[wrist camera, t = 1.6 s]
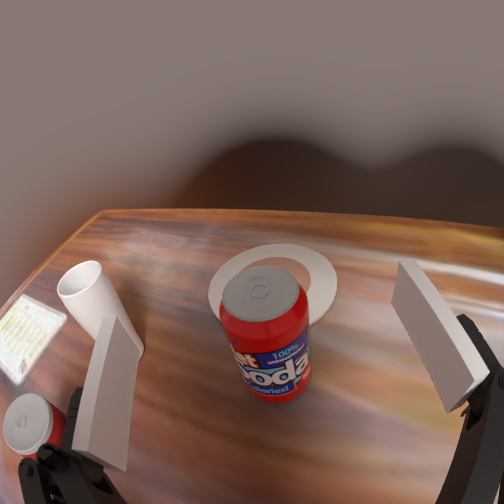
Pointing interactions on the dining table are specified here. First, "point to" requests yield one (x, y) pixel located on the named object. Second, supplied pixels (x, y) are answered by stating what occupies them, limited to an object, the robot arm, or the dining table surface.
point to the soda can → (268, 331)
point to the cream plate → (291, 259)
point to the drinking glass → (94, 299)
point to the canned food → (32, 424)
